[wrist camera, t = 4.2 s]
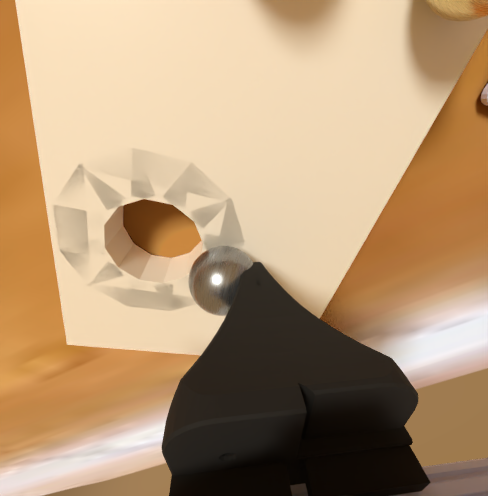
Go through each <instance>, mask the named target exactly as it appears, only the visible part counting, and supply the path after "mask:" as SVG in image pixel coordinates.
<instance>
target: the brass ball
mask: <svg viewBox="0 0 488 496" xmlns="http://www.w3.org/2000/svg"><path fill="white" fill-rule="evenodd" d="M426 2H427V4H428V6H429V7H430V9H431V10H432V11H433V12H434V13H435V14H436V15H438V16H439V17H441V18H443V19H446V20H450V21H457V22H458V21H470V20H474V19H478V18H482V17H485V16H487V15H488V0H426Z"/></svg>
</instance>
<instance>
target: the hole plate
mask: <svg viewBox="0 0 488 496" xmlns="http://www.w3.org/2000/svg"><path fill="white" fill-rule="evenodd" d="M15 1H16V8H17V15H18V21H19V28H20V35H21V41H22V48H23V55H24V61H25V68H26V74H27V81H28V88H29V94H30V101H31V108H32V114H33V121H34V128H35V134H36V141H37V148H38V154H39V161H40V167H41V174H42V181H43V187H44V194H45V201H46V207H47V214H48V221H49V227H50V234H51V241H52V247H53V254H54V260H55V267H56V274H57V280H58V287H59V294H60V300H61V307H62V314H63V320H64V327H65V334H66V340H67V345H78V346H91V347H103V348H116V349H128V350H141V351H153V352H166V353H178V354H191V355H202V353H203V352H204V350H205V349H206V348H207V346H208V345H209V343H210V342H211V341H212V339H213V338H214V336H215V334H216V333H217V331H218V330H219V328H220V326H221V324H222V323H223V321H224V319H225V317H226V316H217V315H213V314H210V313H208V312H206V311H204V310H203V309H202V308H200V307H199V306H198V305H197V304H196V302H195V301H194V299H193V298H192V296H191V293H190V290H189V283H188V279H189V273H190V269H191V267H192V265H193V263H194V261H195V260H196V259H197V258H198V257H199V256H200V255H201V254H202V253H203V252H205V251H206V250H208V249H210V248H213V247H217V246H231V247H234V248H237V249H239V250H241V251H243V252H244V253H245V254H247V255H248V256H249V257H250V259H251V260H252V261H253V262H261V263H262V264H263V265H264V267H265V268H266V269H267V271H268V272H269V273H270V274H271V275H272V277H273V278H274V279H275V280H276V281H277V282H278V283H279V284H280V285H281V286H282V288H283V289H284V290H285V291H286V292H287V293H288V294H289V295H291V296H292V297H293V298H294V299H295V300H296V301H297V302H298V303H299V304H301V305H302V306H303V307H304V308H305V309H307V310H308V311H309V312H311V313H312V314H313V315H315V316H316V317H317V318H319V319H320V317H321V316H322V314H323V312H324V310H325V309H326V307H327V305H328V303H329V302H330V300H331V298H332V297H333V295H334V293H335V291H336V290H337V288H338V286H339V284H340V283H341V281H342V279H343V278H344V276H345V274H346V272H347V271H348V269H349V267H350V265H351V264H352V262H353V260H354V259H355V257H356V255H357V253H358V252H359V250H360V248H361V246H362V245H363V243H364V241H365V240H366V238H367V236H368V234H369V233H370V231H371V229H372V227H373V226H374V224H375V222H376V221H377V219H378V217H379V215H380V214H381V212H382V210H383V208H384V207H385V205H386V203H387V202H388V200H389V198H390V196H391V195H392V193H393V191H394V189H395V188H396V186H397V184H398V183H399V181H400V179H401V177H402V176H403V174H404V172H405V170H406V169H407V167H408V165H409V164H410V162H411V160H412V158H413V157H414V155H415V153H416V151H417V150H418V148H419V146H420V145H421V143H422V141H423V139H424V138H425V136H426V134H427V132H428V131H429V129H430V127H431V126H432V124H433V122H434V120H435V119H436V117H437V115H438V113H439V112H440V110H441V108H442V107H443V105H444V103H445V101H446V100H447V98H448V96H449V94H450V93H451V91H452V89H453V88H454V86H455V84H456V82H457V81H458V79H459V77H460V75H461V74H462V72H463V70H464V69H465V67H466V65H467V63H468V62H469V60H470V58H471V56H472V55H473V53H474V51H475V50H476V48H477V46H478V44H479V43H480V41H481V39H482V37H483V36H484V34H485V32H486V31H487V29H488V15H487V16H485V17H482V18H478V19H474V20H470V21H458V22H457V21H450V20H446V19H443V18H441V17H439V16H438V15H436V14H435V13H434V12H433V11H432V10H431V9H430V7H429V6H428V4H427V2H426V0H15ZM142 199H147V200H152V201H157V202H162V203H166V204H171V205H174V206H175V207H176V208H177V209H179V210H180V211H181V212H182V213H184V214H185V215H186V216H188V217H189V218H190V219H191V220H193V221H194V222H195V225H196V227H197V230H198V232H199V234H200V237H201V239H202V241H201V242H200V243H199V244H198V245H197V246H196V247H195V248H194V249H193V250H192V251H191V252H190V253H187V254H184V255H180V256H177V257H173V258H168V257H162V256H156V255H151V254H149V253H148V252H146V251H145V250H143V249H142V248H140V247H139V246H137V245H135V244H134V243H133V241H132V240H131V238H130V236H129V235H128V233H127V231H126V230H125V228H124V226H123V206H124V205H126V204H129V203H132V202H136V201H139V200H142Z"/></svg>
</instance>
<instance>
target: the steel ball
mask: <svg viewBox="0 0 488 496" xmlns="http://www.w3.org/2000/svg"><path fill="white" fill-rule="evenodd" d="M252 265H253V261H252V260H251V259H250V257H249V256H248V255H247V254H245V253H244V252H243V251H241V250H239V249H237V248H234V247H231V246H217V247H213V248H210V249H208V250H206V251H205V252H203V253H202V254H201V255H200V256H199V257H198V258H197V259H196V260H195V261H194V263H193V265H192V267H191V269H190V273H189V279H188V283H189V290H190V293H191V296H192V298H193V299H194V301H195V302H196V304H197V305H198V306H199V307H200V308H202V309H203V310H204V311H206V312H208V313H210V314H213V315H217V316H226V315H227V313H228V311H229V309H230V307H231V305H232V302H233V300H234V297H235V294H236V292H237V288H238V285H239V281H240V277H241V275H242V273H243V272H244V271H246V270H248V269H249V268H250V267H251V266H252Z"/></svg>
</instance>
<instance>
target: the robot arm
mask: <svg viewBox="0 0 488 496" xmlns="http://www.w3.org/2000/svg"><path fill="white" fill-rule="evenodd" d="M481 102H482V103H483V104H484V105H487V106H488V84H487V85H486V87H485V88H484V90H483V92H482V94H481ZM417 404H418V393H417V392H416V390H415V389H414V387H413V386H412V385H411V383H410V382H409V380H408V379H407V377H406V376H405V375H404V373H403V372H402V370H401V369H400V368H399V367H398V365H397V364H396V363H395V362H394V361H393V359H392V358H390V357H388V356H386V355H384V354H382V353H380V352H378V351H376V350H373V349H371V348H369V347H367V346H365V345H363V344H361V343H359V342H357V341H355V340H353V339H352V338H350V337H348V336H346V335H344V334H343V333H341V332H339V331H338V330H336V329H334V328H333V327H331V326H330V325H328V324H327V323H325V322H323V321H322V320H320V319H319V318H317V317H316V316H315V315H313V314H312V313H311V312H309V311H308V310H307V309H305V308H304V307H303V306H302V305H301V304H299V303H298V302H297V301H296V300H295V299H294V298H293V297H292V296H291V295H289V294H288V293H287V292H286V291H285V290H284V289H283V288H282V286H281V285H280V284H279V283H278V282H277V281H276V280H275V279H274V278H273V277H272V275H271V274H270V273H269V272H268V271H267V269H266V268H265V267H264V265H263V264H262V263H261V262H253V265H252V266H251V267H250V268H249V269H248V270H246V271H244V272H243V273H242V275H241V277H240V281H239V285H238V288H237V292H236V294H235V297H234V300H233V302H232V305H231V307H230V309H229V311H228V313H227V315H226V317H225V319H224V321H223V323H222V324H221V326H220V328H219V330H218V331H217V333H216V334H215V336H214V338H213V339H212V341H211V342H210V343H209V345H208V346H207V348H206V349H205V350H204V352H203V353H202V355H201V356H200V357H199V358H198V360H197V361H196V362H195V363H194V365H193V366H192V367H191V368H190V369H189V371H188V372H187V373H186V374H185V375H184V376H183V378H182V379H181V380H180V382H179V385H178V387H177V390H176V392H175V395H174V397H173V400H172V403H171V406H170V409H169V413H168V417H167V420H166V425H165V431H164V437H163V442H162V453H163V456H164V458H165V460H166V462H167V465H168V467H169V469H170V471H171V473H172V479H171V486H170V493H169V496H488V458H482V459H475V460H468V461H461V462H454V463H447V464H440V465H432V466H426V467H421V465H420V463H419V461H418V460H417V458H416V456H415V454H414V453H413V451H412V449H411V447H410V446H409V445H411V444H412V443H413V442H412V438H411V437H410V435H409V433H408V432H407V430H406V429H405V427H404V425H405V424H406V422H407V420H408V419H409V418H410V416H411V415H412V413H413V412H414V410H415V408H416V406H417Z"/></svg>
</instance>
